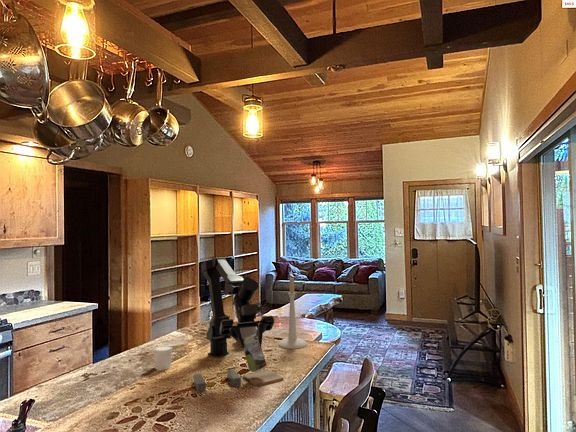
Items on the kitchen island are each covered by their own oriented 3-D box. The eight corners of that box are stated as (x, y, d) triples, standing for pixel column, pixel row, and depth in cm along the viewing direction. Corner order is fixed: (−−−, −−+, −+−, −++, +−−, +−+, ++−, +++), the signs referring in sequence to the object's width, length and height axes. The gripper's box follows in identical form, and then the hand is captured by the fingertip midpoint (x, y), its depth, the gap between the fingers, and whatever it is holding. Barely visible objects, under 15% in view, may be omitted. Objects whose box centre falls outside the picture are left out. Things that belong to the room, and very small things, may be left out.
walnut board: (243, 377, 136) (243, 375, 136) (267, 371, 142) (267, 369, 142) (258, 386, 128) (257, 384, 128) (283, 379, 134) (283, 377, 134)
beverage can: (264, 372, 130) (259, 336, 131) (243, 374, 132) (238, 338, 133) (269, 366, 137) (263, 331, 138) (248, 368, 138) (243, 334, 139)
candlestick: (301, 350, 168) (300, 278, 169) (273, 347, 172) (273, 278, 174) (310, 342, 180) (309, 275, 181) (284, 339, 184) (283, 275, 186)
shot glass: (176, 365, 150) (176, 346, 150) (163, 371, 143) (163, 351, 144) (162, 363, 152) (162, 344, 153) (149, 368, 146) (149, 349, 147)
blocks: (193, 382, 132) (193, 374, 132) (233, 376, 137) (233, 369, 137) (198, 392, 124) (198, 384, 124) (240, 385, 129) (240, 377, 129)
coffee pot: (255, 347, 173) (254, 312, 174) (230, 345, 176) (230, 311, 176) (268, 334, 194) (268, 304, 194) (246, 333, 196) (246, 303, 197)
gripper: (221, 296, 135) (228, 337, 124) (272, 292, 142) (284, 331, 131) (216, 315, 142) (223, 355, 131) (265, 311, 149) (276, 348, 138)
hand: (252, 347), depth 133 cm, fingers closed on beverage can, 6 cm apart
